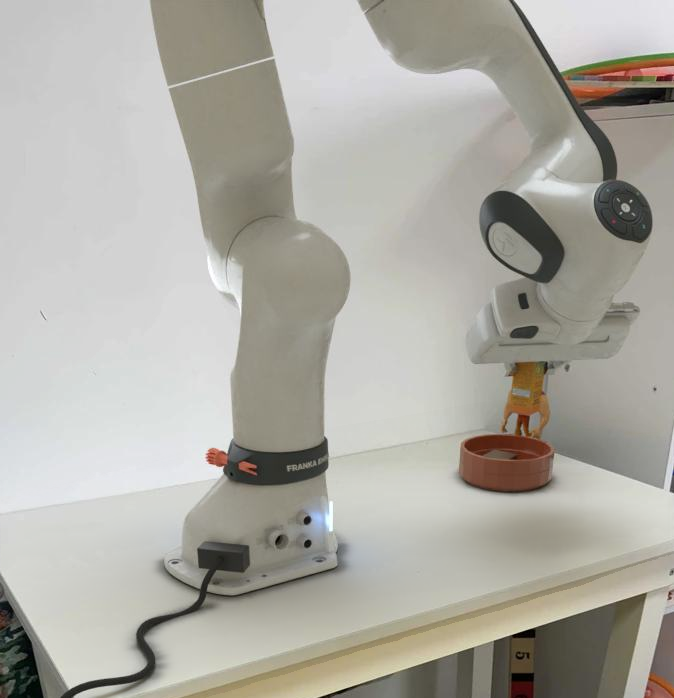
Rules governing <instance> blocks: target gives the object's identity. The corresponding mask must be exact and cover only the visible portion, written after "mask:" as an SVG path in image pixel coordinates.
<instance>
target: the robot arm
mask: <svg viewBox="0 0 674 698" xmlns="http://www.w3.org/2000/svg"><path fill="white" fill-rule="evenodd" d="M264 2H265V0H149V6H150V12H151V17H152V25H153V31H154V35H155V39H156V45H157V51H158V54H159V58H160V63H161V67H162V71H163V75H164V78H165V81H166V85H167V87H168V92H169V96H170V98H171V102H172V105H173V109H174V113H175V116H176V120H177V123H178V126H179V130H180V133H181V136H182V139H183V144H184V146H185V150H186V154H187V157H188V160H189V164H190V167H191V171H192V176H193V181H194V186H195V190H196V196H197V204H198V210H199V215H200V222H201V228H202V233H203V239H204V243H205V248H206V249H205V250H206V252H207V267H208V272H209V275H210V277H211V280H212V282H213V284H214V286H215V288H216V289H217V291H218V293H219V295H221V297H222V298H223V299H224V300H225V301H226V302H227V303H228V304H229V305H230V306H232V307H233V308H235V309H237V310H239V311H238V312H239V333H238V340H237V341H238V342H237V349H236V355H235V360H234V364H233V367H232V369H231V371H230V376H229V381H230V400H231V417H232V436H233V437H232V439H231V440H230V443H229V445H228V449H227V452H226V451H224V450H220V449H218V448H217V447H210V448H209V449H207V452H206V453H205V459H206V460H205V461H206V462H207V463H208V464H209V465H211V466H215V467H217V468H222V475H221V476H220V477H219V478H218V480H217V481H216V482H215V483H214V484H213V485H212V486H211V487H210V489H209V490H208V491H207V492H206V493H205V494H204V495H203V496H202V497H201V498H200V499H199V501H198V502H197V503H196V504H195V505H194V506H193V507H192V508H191V509H190V510H189V511H188V512H187V514H186V515H185V517H184V519H183V523H182V532H181V546H180V547H178V548H176V549H174V550H172V551H170V552H168V553H165V555H164V560H163V565H164V568H165V570H167V572H168V573H169V574H170V575H171V576H173V577H174V578H176V579H177V580H179V581H180V582H183V583H185V584H187V585H188V586H191V587H193V588H196V589H199V595H198V598H197V600H196V601H195V602H193V604H192V605H190V606H189V607H188V608H186V609H184V610H181V611H178V612H175V613H169V614H165V615H159V616H153V617H151V618H148V619H146V620H144V621H143V622H142V623H141V624H140V625H139V627H138V628H137V630H136V633H135V636H136V637H135V638H136V641H137V643H138V646H139V647H140V648H141V650H142V651H143V652H144V654H145V656H146V658H147V664H146V665H145V667H144V668H143V669H141V670H140V671H138V672H136V673H133V674H129V675H124V676H117V677H107V678H99V679H95V680H89V681H86V682H82V683H79V684H77V685H75V686H73V687H71V688H69V689H68V690H67V691H65V692H64V693H63V694H62V695H61V696H60V697H59V698H74V697H75V696H76V695H79V694H81V693H83V692H85V691H89V690H92V689H97V688H104V687H111V686H120V685H127V684H131V683H135V682H138V681H141V680H143V679H145V678H146V677H147V676H149V675H150V674H151V673H152V671H153V670H154V668H155V665H156V655H155V652H154V651H153V650H152V648H151V647H150V645H149V644H148V642H147V641H146V639H145V637H144V633H145V632H146V630H147V629H148V628H150V627H152V626H154V625H157V624H161V623H165V622H168V621H171V620H174V619H177V618H180V617H183V616H186V615H189V614H192V613H195V612H196V611H198V609H200V608H201V607H202V606H203V604H204V603H205V601H206V597H207V592H208V593H211V594H216V595H224V596H237V595H241V594H244V593H249V592H252V591H257V590H260V589H263V588H267V587H271V586H275V585H277V584H281V583H285V582H289V581H292V580H295V579H296V580H297V579H300V578H302V577H306V576H310V575H313V574H314V575H315V574H318V573H320V572H324V571H327V570H332V569H334V568H336V567H337V566H338V565H339V564H338V563H339V562H338V557H337V551H338V550H339V542H338V540H337V536H336V533H335V529H334V525H333V501H329V493H328V486H327V485H328V484H327V474H326V473H327V470H328V469H329V458H330V452H329V440H328V438H327V436H325V383H326V369H327V362H328V358H329V352H330V347H331V342H332V337H333V332H334V328H335V323H336V320H337V316H338V314H339V313H340V312H341V311H342V309H343V308H344V306H345V304H346V302H347V299H348V297H349V295H350V288H351V280H352V279H351V269H350V265H349V261H348V259H347V257H346V255H345V253H344V251H343V249H342V248H341V246H340V245H339V244H337V242H336V241H335V240H333V238H332V237H331V236H329V234H327V233H326V232H325V231H324V230H322V228H320V227H318V226H317V225H315V224H313V223H311V222H308V221H305V220H300V219H298V218H297V213H296V210H295V203H294V191H293V190H294V189H293V174H292V173H293V171H292V169H293V167H292V166H293V165H292V163H293V156H294V152H295V139H294V134H293V130H292V126H291V122H290V118H289V113H288V108H287V104H286V100H285V96H284V92H283V87H282V84H281V80H280V76H279V75H280V74H279V71H278V67H277V63H276V58H273V57H275V54H274V50H273V47H272V43H271V38H270V35H269V30H268V27H267V21H266V13H265V3H264ZM356 2H357V4H358V5H359V7H360V10H361V12H362V13H363V15H364V17H365V19H366V21H367V23H368V25H369V27H370V28H371V30H372V32H373V34H374V36H375V37H376V40H377V42H378V43H379V44H380V47H382V49H383V50H384V51H385V53H386V54H387V55H388V56H389V57H390V59H391V60H392V61H393V62H394V63H395V64H396V65H397V66H398V67H401V68H403V69H405V70H407V71H410V72H414V73H417V74H421V75H422V74H423V75H440V74H445V73H449V72H455V71H459V70H460V71H461V70H474V71H478V72H480V73H482V74H483V75H485V76H487V77H488V78H489V79H490V80H491V81H492V82H493V83H494V84H495V86H496V87H497V89H498V91H499V92H500V94H501V95H502V97H503V98H504V100H505V101H506V103H507V104H508V106H509V107H510V109H511V111H512V112H513V114H514V115H515V117H516V119H517V120H518V122H519V123H520V124H521V127H522V128H523V129H524V131H525V133H526V136H527V138H528V153H527V155H525V157H523V159H522V160H521V161H520V162H519V163H518V164H517V165H516V166H515V167H514V168H513V169H512V170H511V171H509V172H508V173H507V175H506V176H505V177H504V178H503V179H502V180H501V181H500V182H499V183H498V184H497V185H496V186H495V187H494V188H493V189H492V190H491V192H490V193H489V194H488V195H487V196H486V197H485V198H484V199H483V201H482V203H481V205H480V208H479V214H478V224H479V230H480V231H479V232H480V234H481V238H482V241H483V243H484V246H485V247H486V250H487V251H488V253H490V255H491V256H492V257H493V258H494V259H495V260H496V261H498V262H499V263H500V264H501V265H503V266H504V267H505V268H507V269H508V270H510V271H512V272H514V273H516V274H518V275H520V276H522V278H518V279H514V280H511V281H507V282H503V283H502V282H501V283H498V284H496V285H494V287H493V288H492V290H491V292H490V299H491V301H490V302H489V303H487V304H484V306H483V307H481V308H480V310H479V311H478V313H477V314H476V315H475V318H474V319H473V321H472V322H471V325H470V326H469V328H468V330H467V333H466V334H465V340H464V341H465V350H466V353H467V357H468V359H469V361H470V362H471V363H472V364H473V365H485V364H486V365H487V364H501V366H500V370H501V375H502V377H503V378H507V377H513V376H514V375H515V373H516V372H517V366H516V365H515V364H516V362H539V361H546V365H545V372H544V376H554V375H555V374H556V373H557V372H558V370H559V369H561V368H563V367H564V366H567V365H568V364H570V363H571V362H573V361H584V360H585V361H587V360H606V359H607V360H608V359H610V358H613V357H614V356H616V355H617V354H618V353H619V352H620V350H621V349H622V347H623V346H624V343H625V341H626V340H627V338H628V336H629V333H630V330H631V326H632V325H633V324H634V323H636V320H637V319H638V318H639V316H640V314H641V309H640V307H639V306H637V305H635V304H634V303H633V302H631V301H624V302H613V301H614V297H615V295H616V294H618V293H619V292H620V291H621V290H622V289H623V288H624V287H625V285H626V284H627V283H628V281H630V278H631V277H632V275H633V274H634V272H635V270H636V269H637V267H638V266H639V264H640V262H641V260H642V258H643V257H644V254H645V252H646V250H647V248H648V245H649V244H650V240H651V237H652V233H653V223H654V220H653V212H652V208H651V206H650V204H649V201H648V199H647V198H646V197H645V195H644V194H643V193H642V191H641V190H639V189H638V188H637V187H636V186H634V185H633V184H632V183H629V182H627V181H625V180H621V179H617V177H618V160H617V155H616V152H615V149H614V146H613V145H612V143H611V141H610V139H609V138H608V136H607V135H606V134H605V132H604V131H603V130H602V129H601V128H600V126H599V125H597V124H596V122H595V121H594V120H593V119H592V118H591V117H590V116H589V114H587V113H586V111H585V110H584V109H583V108H582V106H581V105H580V103H579V102H578V100H577V98H576V97H575V95H574V94H573V92H572V90H571V89H570V86H569V85H568V84H567V82H566V80H565V79H564V77H563V75H562V73H561V72H560V70H559V68H558V66H557V65H556V63H555V62H554V60H553V59H552V57H551V55H550V53H549V52H548V50H547V48H546V47H545V45H544V43H543V42H542V40H541V38H540V37H539V35H538V33H537V31H536V30H535V28H534V27H533V25H532V24H531V22H530V20H529V19H528V17H527V16H526V14H525V13H524V11H523V10H522V9H521V7H520V6H519V5H518V3H517V2H516V1H515V0H356ZM269 58H271V59H269ZM266 59H267V60H266ZM259 61H260V62H259ZM256 62H257V63H256ZM252 63H253V64H252ZM245 65H246V66H245ZM242 66H243V67H242ZM238 67H239V68H238ZM231 69H232V70H231ZM228 70H229V71H228ZM224 71H225V72H224ZM221 72H222V73H221ZM213 74H214V75H213ZM207 76H208V77H207ZM203 77H204V78H203ZM179 84H180V85H179ZM171 86H173V87H171ZM169 87H170V88H169Z"/></svg>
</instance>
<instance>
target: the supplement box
mask: <svg viewBox="0 0 674 698" xmlns="http://www.w3.org/2000/svg"><path fill="white" fill-rule="evenodd" d="M515 365H516V366H517V372H516V373H515V375H514V376H512V379H511V380H512V381H511V389H510V390H511V396H510V405H509V411H510V412H512V414H517V415H518V414H522V415H528V416H530V417H531V416H532V415H534V414H536V413H539V408H540V401H541V394H542V391H543V385H544V380H545V375H544V372H545V365H546V361H539V362H516V364H515Z"/></svg>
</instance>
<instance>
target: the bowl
mask: <svg viewBox="0 0 674 698" xmlns="http://www.w3.org/2000/svg"><path fill="white" fill-rule="evenodd" d="M533 437H534V436H533ZM533 437H528V436H526V435H523V434H522V435H515V434H513V433H486V434H479V435H474V436H471V437H467V438H465V439H464V440H463V441H461V442H460V448H459V462H458V463H459V465H458V475H459V476H460V477H461V478H462V479H463V480H464V481H465V482H467V483H468V484H470V485H472V486H473V487H474V486H475V487H477V488H481V489H484V490H490V491H497V492H525V491H532V490H536V489H539V488H541V487H543V486H544V485H545V484H548V483H549V481H550V480H552V477H553V476H552V475H553V468H554V459H555V447H554V446H553V445H552V444H551V443H549V442H547V441H545V440H542V439H541V438H539V439H537V438H536V437H535V438H533ZM493 450H499V451H504V452H509V453H514V454H518V457H517V460H506V459H495V458H489V457H484V456H483V455H485V454H487V453H489V452H491V451H493Z"/></svg>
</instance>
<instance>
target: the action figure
mask: <svg viewBox="0 0 674 698" xmlns="http://www.w3.org/2000/svg"><path fill="white" fill-rule="evenodd" d="M510 396H511V389H510V390H509V391H508V394H507V399H506V403H505V405H504V408H503V419H502V421H501V426H500V428H499V429H500V432H502V433H501V434H507V433H508V432H509V431H508V430H507V428H506V426H507V423H508V420H509V418H510V416H511V415H512V414H513V413H512V412H510V411H509V405H510ZM538 413H539V415H540V420H539V423H538V427H536V428H533V429H532V428H531V429H530V420H531V415H530V416H528V415H522V414H517V419H516V425H515V428H514V434H513V435H522V436H523V433H524V436H528V437H533V438H537V439H541V436H542V434H543V429H544V428H545V427H546V426H547V424H548V423H549V421H550V417H551V409H550V403H549V400H548V397H547V395H546V392H544V391H543V390H542V394H541V401H540V408H539V411H538ZM522 429H523V431H522Z"/></svg>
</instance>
